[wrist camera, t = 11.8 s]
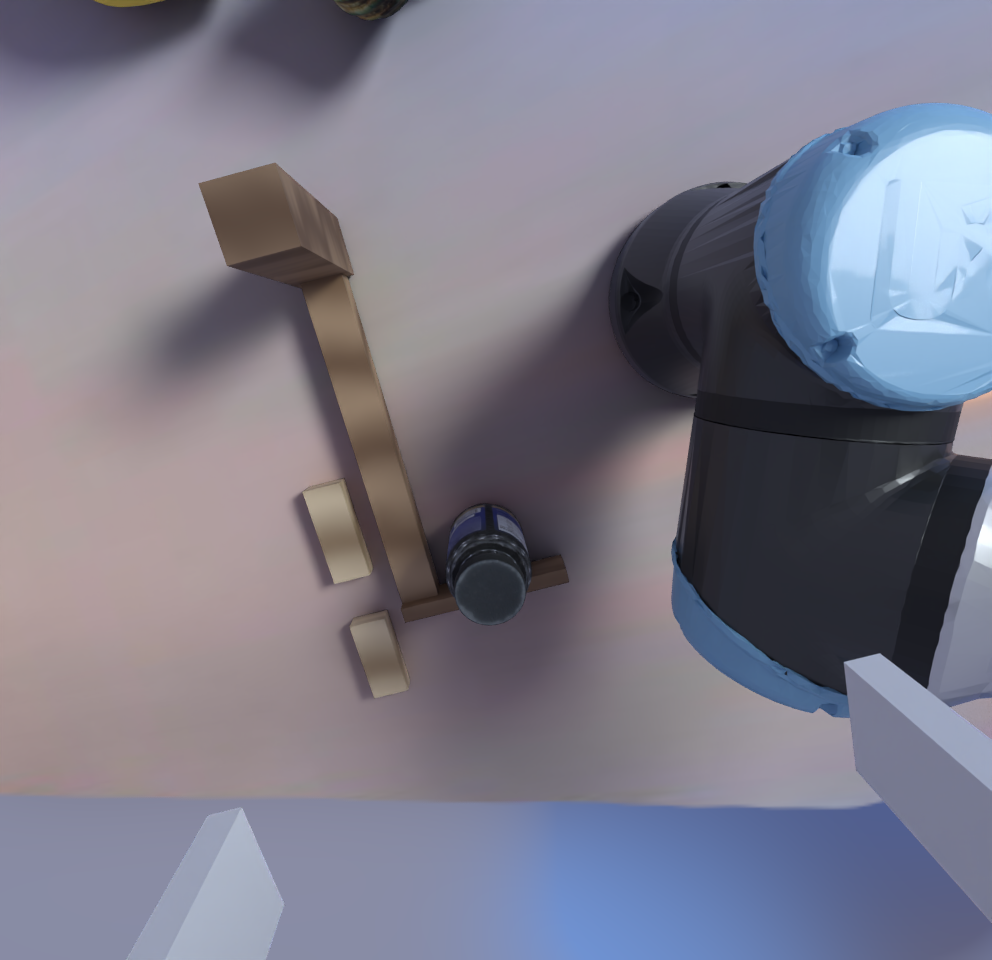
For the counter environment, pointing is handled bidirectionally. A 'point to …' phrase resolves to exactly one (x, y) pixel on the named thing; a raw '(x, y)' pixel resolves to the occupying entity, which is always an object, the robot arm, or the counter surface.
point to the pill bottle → (488, 564)
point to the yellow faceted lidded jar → (126, 2)
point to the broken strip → (353, 562)
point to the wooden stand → (339, 358)
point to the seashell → (371, 8)
